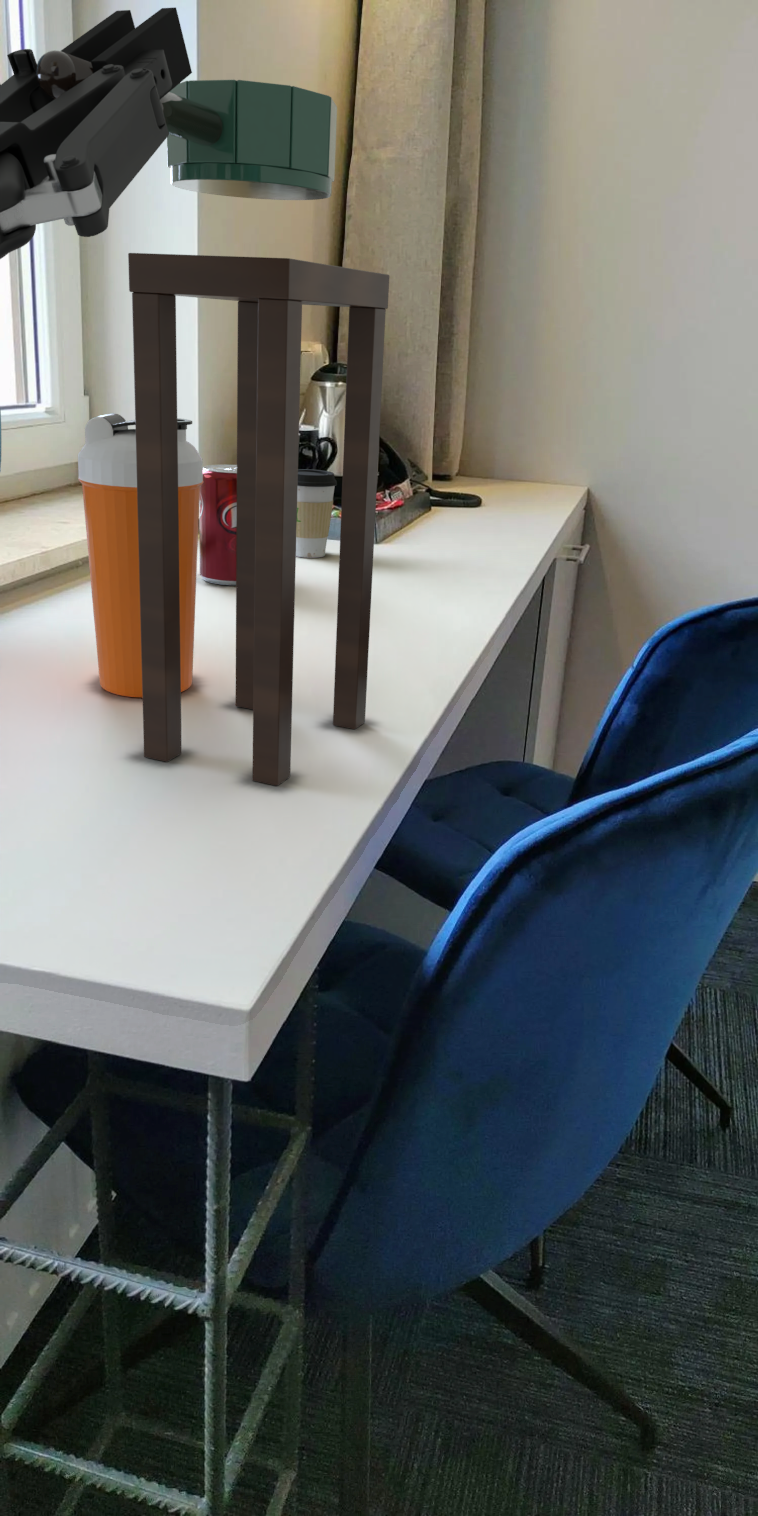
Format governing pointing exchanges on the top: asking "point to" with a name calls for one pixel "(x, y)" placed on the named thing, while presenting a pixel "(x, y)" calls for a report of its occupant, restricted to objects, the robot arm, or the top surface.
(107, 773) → the top surface
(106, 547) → the shaker bottle
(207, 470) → the soda can
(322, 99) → the green faceted container
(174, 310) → the tall wooden stool
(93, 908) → the top surface
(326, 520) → the coffee cup
